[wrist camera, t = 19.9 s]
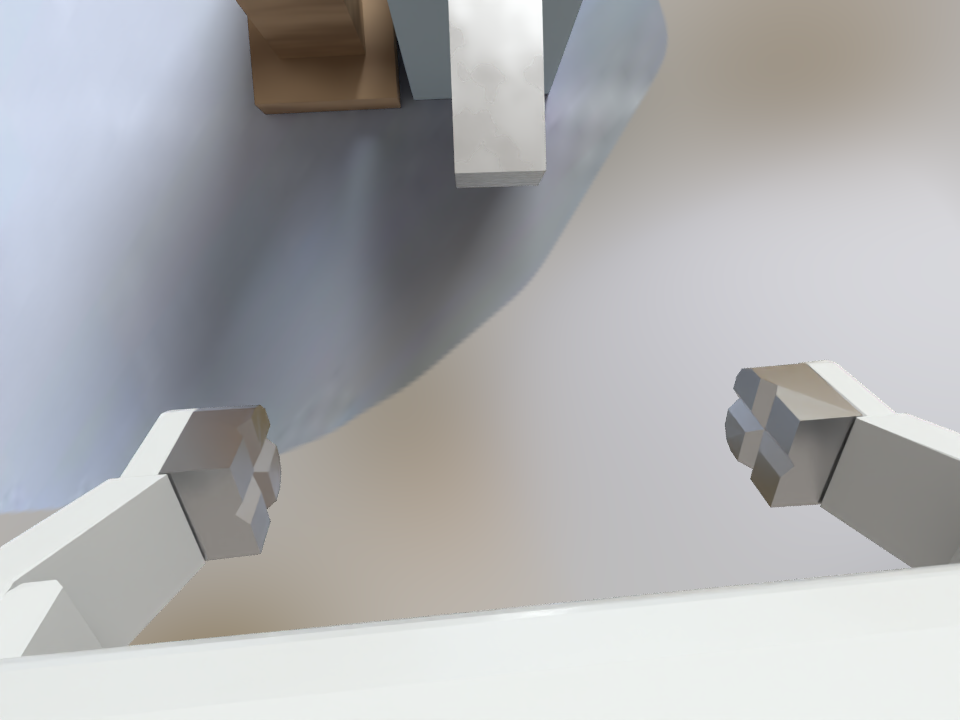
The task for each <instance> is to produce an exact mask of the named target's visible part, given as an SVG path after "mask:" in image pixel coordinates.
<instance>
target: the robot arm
mask: <svg viewBox="0 0 960 720" xmlns="http://www.w3.org/2000/svg"><path fill="white" fill-rule="evenodd" d="M733 389H734V390H735V392H736V394H737V395H738V397H739V399H738V400H737V401H736V402H735V403H734V404H733V405H732V406H731V407H730V408H729V409H728V412H727V417H726V422H725V430H726V439H727V442H728V445H729V447H730V450H731V452H732V453H733V455H734V456H735V458H736V459H737V460H738V461H739V462H741V463H743V464H744V465H746V466H748V467H750V468H752V469H753V470H752V474H751V478H750V479H751V480H752V482H753V483H754V485H755V486H756V488H757V489H758V490H759V492H760V493H761V495H762V496H763V497H764V499H765V500H766V501H767V503H768V505H769V506H770V507H785V506H801V505H816V504H821V506H820V507H822V508H823V509H825V510H826V511H828V512H829V513H831V514H832V515H834V516H835V517H837V518H838V519H840V520H841V521H843V522H844V523H846V524H847V525H849V526H850V527H852V528H853V529H855V530H856V531H858V532H859V533H861V534H862V535H864V536H865V537H867V538H868V539H870V540H871V541H873V542H874V543H876V544H877V545H879V546H880V547H882V548H883V549H885V550H886V551H888V552H889V553H891V554H892V555H894V556H895V557H897V558H898V559H900V560H901V561H903V562H904V563H906V564H907V565H909V566H910V567H912V568H904V569H895V570H884V571H874V572H866V573H865V572H864V573H855V574H844V575H834V576H824V577H814V578H804V579H794V580H784V581H774V582H764V583H754V584H745V585H734V586H724V587H714V588H705V589H694V590H683V591H673V592H663V593H653V594H643V595H633V596H623V597H613V598H603V599H593V600H583V601H574V602H563V603H553V604H543V605H532V606H522V607H513V608H502V609H492V610H482V611H474V612H473V611H472V612H463V613H453V614H444V615H433V616H425V617H424V616H423V617H413V618H404V619H393V620H384V621H374V622H364V623H354V624H344V625H335V626H324V627H314V628H304V629H294V630H284V631H274V632H264V633H254V634H244V635H234V636H224V637H214V638H203V639H193V640H183V641H173V642H162V643H152V644H142V645H132V646H128V645H129V644H130V643H131V642H132V641H133V640H134V639H135V637H136V636H137V635H138V634H139V633H140V632H141V631H142V630H143V629H144V628H145V627H146V626H147V625H148V624H149V623H150V622H151V621H152V620H153V618H154V617H155V616H156V615H157V614H158V613H159V612H160V611H161V610H162V609H163V608H164V607H165V606H166V605H167V604H168V603H169V602H170V601H171V600H172V598H173V597H174V596H175V595H176V594H177V593H178V592H179V591H180V590H181V589H182V588H183V587H184V586H185V585H186V584H187V583H188V582H189V581H190V579H191V578H192V577H193V576H194V575H195V574H196V573H197V572H198V571H199V570H200V569H201V568H202V567H203V566H204V565H205V561H206V560H216V559H223V558H232V557H240V556H249V555H258V554H261V552H262V548H263V545H264V541H265V538H266V535H267V532H268V528H269V525H270V522H271V521H270V518H269V515H268V512H267V509H268V507H270V506H271V505H272V504H273V503H274V502H276V501H277V497H278V494H279V490H280V482H281V465H280V457H279V453H278V450H277V446H276V445H275V444H274V443H272V442H271V441H270V440H268V439H267V438H266V436H267V433H268V430H269V428H270V422H269V419H268V416H267V413H266V410H265V408H263V407H262V406H261V405H245V406H228V407H210V408H199V409H196V408H192V409H180V410H168V411H166V412H164V413H161V415H160V416H159V418H158V419H157V421H156V422H155V424H154V425H153V427H152V428H151V430H150V431H149V433H148V435H147V436H146V438H145V439H144V441H143V442H142V444H141V445H140V447H139V448H138V450H137V451H136V453H135V455H134V456H133V458H132V459H131V461H130V462H129V464H128V465H127V467H126V468H125V470H124V472H123V473H122V475H121V476H120V478H114V479H108V480H107V481H105V482H103V483H102V484H100V485H99V486H97V487H95V488H94V489H92V490H91V491H89V492H87V493H86V494H84V495H83V496H81V497H79V498H78V499H76V500H75V501H73V502H71V503H70V504H68V505H67V506H65V507H64V508H62V509H60V510H59V511H57V512H56V513H54V514H52V515H51V516H49V517H48V518H46V519H44V520H43V521H41V522H40V523H38V524H36V525H35V526H33V527H32V528H30V529H29V530H27V531H25V532H24V533H22V534H21V535H19V536H17V537H16V538H14V539H13V540H11V541H9V542H8V543H6V544H5V545H3V546H2V547H0V720H960V433H957V432H955V431H952V430H950V429H947V428H944V427H942V426H939V425H936V424H934V423H931V422H928V421H926V420H923V419H920V418H918V417H915V416H912V415H910V414H907V413H901V414H897V413H896V412H894V411H893V410H892V409H891V408H890V407H888V406H887V405H886V404H885V403H884V402H882V401H881V400H880V399H879V398H878V397H877V396H875V395H874V394H873V393H872V392H871V391H869V390H868V389H867V388H866V387H865V386H863V385H862V384H861V383H860V382H859V381H858V380H856V379H855V378H854V377H853V376H852V375H850V374H849V373H848V372H847V371H845V370H844V369H843V368H842V367H841V366H840V365H838V364H837V363H836V362H832V361H829V360H821V361H812V362H802V363H798V364H788V365H778V366H766V367H756V368H744V369H742V370H741V371H740V372H739V374H738V375H737V377H736V381H735V384H734V388H733Z"/></svg>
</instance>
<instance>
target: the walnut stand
mask: <svg viewBox="0 0 960 720" xmlns="http://www.w3.org/2000/svg"><path fill="white" fill-rule="evenodd" d="M236 1H237V3H238V4H239V5H240V7H241V8H242V9H243V11H244V12H245V13H246V15H247V18H248V30H249V41H250V53H251V65H252V77H253V89H254V100H255V105H256V106H257V107H258V108H259V109H260V110H261V111H262V112H263V113H264V114H282V113H303V112H323V111H344V110H365V109H385V108H401V102H400V86H399V70H398V54H397V38H396V32H395V28H394V24H393V21H392V17H391V13H390V9H389V6H388V2H387V0H236Z"/></svg>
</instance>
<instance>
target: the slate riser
mask: <svg viewBox="0 0 960 720" xmlns="http://www.w3.org/2000/svg"><path fill="white" fill-rule="evenodd" d="M582 1H583V0H542V17H543V59H544V94H549V92H550V89H551V86H552V84H553V81H554V78H555V75H556V73H557V70H558V67H559V64H560V62H561V59H562V56H563V53H564V50H565V48H566V45H567V42H568V39H569V37H570V34H571V31H572V28H573V26H574V23H575V20H576V17H577V14H578V12H579V9H580V6H581V3H582ZM387 2H388V6H389V9H390V13H391V17H392V21H393V24H394V28H395V32H396V35H397V39H398V43H399V47H400V50H401V54H402V58H403V61H404V65H405V69H406V73H407V76H408V80H409V84H410V87H411V91H412V95H413V99H414V100H426V99H447V98H452V85H451V58H450V32H449V5H448V0H387Z"/></svg>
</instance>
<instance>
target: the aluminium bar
mask: <svg viewBox="0 0 960 720" xmlns="http://www.w3.org/2000/svg"><path fill="white" fill-rule="evenodd" d="M448 5H449V32H450V58H451V85H452V111H453V138H454V164H455V179H456V188H476V187H507V186H538V185H539V183H540V181H541V179H542V177H543V175H544V173H545V172H546V143H545V101H544V59H543V17H542V0H448Z"/></svg>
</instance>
